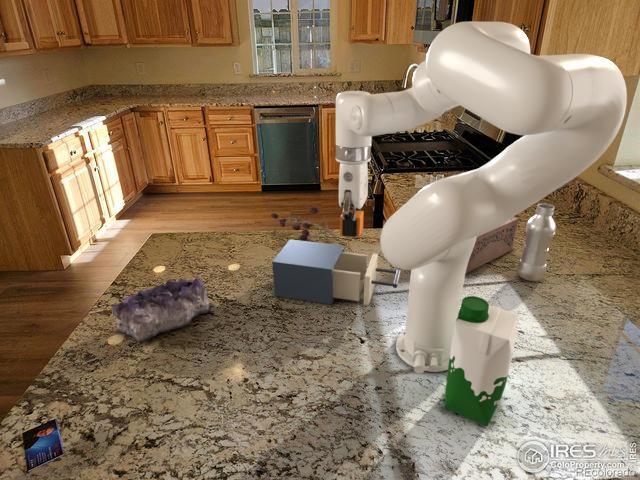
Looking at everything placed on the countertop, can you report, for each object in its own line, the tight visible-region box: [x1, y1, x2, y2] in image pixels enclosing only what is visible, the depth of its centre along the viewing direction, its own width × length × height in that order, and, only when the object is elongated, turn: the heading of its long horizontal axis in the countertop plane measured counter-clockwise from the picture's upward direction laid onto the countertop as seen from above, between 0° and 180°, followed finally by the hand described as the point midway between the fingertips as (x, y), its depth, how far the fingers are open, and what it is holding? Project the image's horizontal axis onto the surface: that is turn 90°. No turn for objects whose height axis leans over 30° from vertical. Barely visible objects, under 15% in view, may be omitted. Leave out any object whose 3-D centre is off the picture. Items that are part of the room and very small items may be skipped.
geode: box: [111, 277, 211, 343], centre depth 94 cm, size 20×12×10 cm, turn 130°
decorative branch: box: [270, 206, 338, 243], centre depth 136 cm, size 11×9×30 cm
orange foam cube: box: [339, 210, 365, 238], centre depth 97 cm, size 4×4×4 cm
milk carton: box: [444, 295, 519, 427], centre depth 69 cm, size 9×9×20 cm
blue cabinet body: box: [271, 239, 345, 306], centre depth 106 cm, size 15×13×10 cm
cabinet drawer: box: [333, 251, 402, 306], centre depth 103 cm, size 20×11×8 cm, turn 74°
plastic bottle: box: [516, 203, 557, 282], centre depth 106 cm, size 6×7×20 cm
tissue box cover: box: [465, 216, 519, 275], centre depth 121 cm, size 26×14×10 cm, turn 127°
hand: (351, 230), depth 98 cm, fingers closed on orange foam cube, 4 cm apart
